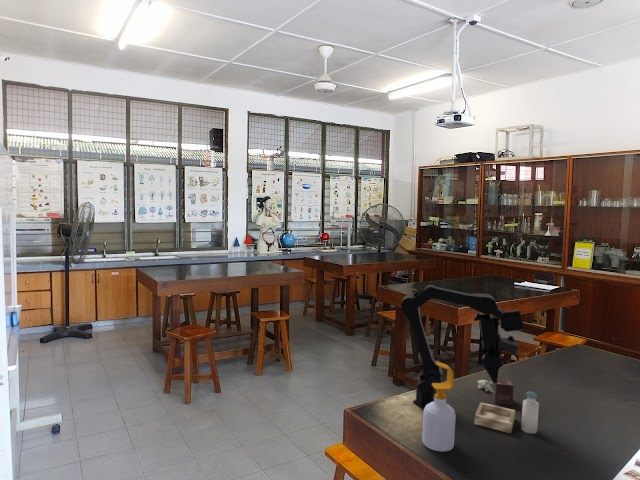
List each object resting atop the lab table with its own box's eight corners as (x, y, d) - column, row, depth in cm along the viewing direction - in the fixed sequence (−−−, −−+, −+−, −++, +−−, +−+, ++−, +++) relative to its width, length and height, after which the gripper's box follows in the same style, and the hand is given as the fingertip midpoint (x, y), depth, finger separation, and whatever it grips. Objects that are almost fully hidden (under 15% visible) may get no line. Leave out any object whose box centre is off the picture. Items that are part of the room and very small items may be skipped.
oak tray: (474, 424, 146) (474, 415, 145) (480, 410, 155) (480, 402, 155) (510, 433, 140) (511, 424, 140) (514, 418, 150) (515, 410, 150)
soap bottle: (418, 436, 137) (422, 357, 135) (447, 435, 138) (451, 357, 136) (427, 452, 128) (432, 369, 126) (458, 452, 129) (463, 368, 127)
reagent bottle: (530, 434, 140) (533, 397, 139) (517, 428, 144) (520, 391, 143) (540, 431, 142) (543, 395, 141) (527, 425, 146) (530, 389, 145)
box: (512, 405, 160) (514, 385, 160) (494, 403, 161) (496, 383, 161) (509, 398, 166) (510, 379, 165) (491, 396, 167) (493, 377, 167)
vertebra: (486, 395, 168) (485, 384, 168) (473, 389, 175) (472, 380, 175) (499, 391, 171) (498, 381, 171) (486, 386, 177) (485, 377, 177)
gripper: (517, 339, 140) (523, 388, 140) (514, 324, 157) (519, 367, 158) (479, 340, 144) (485, 388, 144) (480, 325, 161) (485, 368, 162)
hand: (495, 377), depth 152 cm, fingers open, 9 cm apart
